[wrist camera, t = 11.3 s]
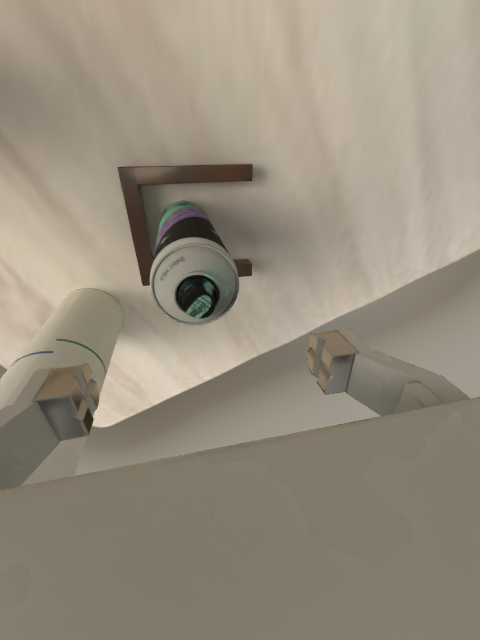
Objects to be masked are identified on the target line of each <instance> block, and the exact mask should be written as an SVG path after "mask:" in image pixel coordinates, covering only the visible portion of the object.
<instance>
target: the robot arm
mask: <svg viewBox="0 0 480 640" xmlns="http://www.w3.org/2000/svg"><path fill="white" fill-rule="evenodd" d="M309 344H310V345H311V348H310V349H309V350H308V352H307V365H308V368H309V370H310V372H311V374H312V375H314V376H316V377H318V380H317V383H318V385H319V386H320V388H321V389H322V391H323V392H324V394H325V395H327V394H334V393H341V392H346V393H347V394H349V395H350V396H352V397H353V398H355V399H356V400H358V401H359V402H361V403H363V404H364V405H365V406H367V407H368V408H370V409H371V410H373V411H374V412H376V413H377V414H379V415H380V417H375V418H370V419H365V420H360V421H354V422H350V423H344V424H339V425H334V426H329V427H324V428H319V429H314V430H308V431H303V432H298V433H293V434H288V435H282V436H277V437H272V438H266V439H261V440H257V441H251V442H246V443H241V444H236V445H230V446H225V447H220V448H215V449H210V450H205V451H200V452H195V453H189V454H184V455H179V456H175V457H169V458H164V459H159V460H153V461H148V462H143V463H138V464H133V465H128V466H122V467H117V468H112V469H107V470H102V471H97V472H92V473H87V474H81V475H76V476H71V477H66V478H61V479H55V480H50V481H45V482H40V483H35V484H30V485H25V486H21V485H22V484H23V483H24V482H25V481H26V480H27V478H28V477H29V476H30V475H31V474H32V473H33V472H34V471H35V470H36V469H37V468H38V466H39V465H40V464H41V463H42V462H43V461H44V460H45V459H46V458H47V457H48V456H49V455H50V453H51V452H52V451H53V450H54V449H55V448H56V447H57V446H58V445H59V444H60V441H64V440H69V439H74V438H79V437H84V436H88V435H89V432H90V429H91V426H92V423H93V420H94V419H93V416H92V413H93V412H94V411H95V410H96V409H97V407H98V403H99V389H98V385H97V383H96V381H94V380H92V379H91V375H92V370H91V368H90V365H89V364H87V363H83V364H74V365H65V366H56V367H49V368H41V369H38V370H36V371H35V372H34V373H33V375H32V376H31V378H30V379H29V381H28V382H27V384H26V385H25V387H24V388H23V390H22V391H21V393H20V394H19V396H18V397H17V399H16V400H15V402H14V403H13V405H8V406H6V407H4V408H3V409H1V410H0V640H480V397H478V398H473V399H470V398H469V397H468V396H467V395H465V394H464V393H463V392H462V391H460V390H459V389H458V388H457V387H455V386H454V385H453V384H452V383H451V382H449V381H448V380H447V379H446V378H445V377H443V376H441V375H438V374H435V373H433V372H430V371H428V370H425V369H423V368H420V367H417V366H415V365H412V364H410V363H407V362H404V361H402V360H399V359H397V358H394V357H392V356H389V355H386V354H383V353H381V352H379V351H372V350H371V349H370V348H369V347H368V346H367V345H365V344H364V342H362V341H361V340H360V339H359V338H358V337H357V336H356V335H355V334H354V333H353V332H352V331H351V330H350V329H348V328H344V329H338V330H334V331H326V332H319V333H313V334H311V335H310V337H309Z"/></svg>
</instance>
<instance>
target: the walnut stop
mask: <svg viewBox="0 0 480 640" xmlns="http://www.w3.org/2000/svg"><path fill="white" fill-rule="evenodd" d="M118 172H119V177H120V181H121V186H122V191H123V195H124V200H125V205H126V209H127V214H128V219H129V223H130V228H131V233H132V237H133V242H134V247H135V251H136V256H137V261H138V266H139V270H140V275H141V280H142V284H143V286H148V285H150V272H151V267H152V262H153V254H152V249H151V243H150V238H149V232H148V227H147V221H146V216H145V210H144V205H143V199H142V194H141V189H140V185H145V184H174V183H203V182H232V181H252V164H227V165H185V166H142V167H118ZM233 261H234V263H235V266H236V268H237V272H238V277H243V276H252V264H251V262H250V261H249V260H248V259H245V260H233Z"/></svg>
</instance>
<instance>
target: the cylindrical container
mask: <svg viewBox="0 0 480 640" xmlns="http://www.w3.org/2000/svg"><path fill="white" fill-rule="evenodd" d="M122 322H123V312H122V309H121V307H120V305H119V304H118V302H117V301H116V300H115V299H114V298H112V297H111V296H110V295H108V294H106V293H104V292H102V291H99V290H95V289H79V290H76V291H73V292H71V293H70V294H68V295H67V296H66V297H65V298H64V299H63V300H62V301H61V303H60V304H59V305H58V307H57V308H56V309H55V310H54V312H53V313H52V314H51V316H50V317H49V318H48V319H47V321H46V322H45V323H44V324H43V326H42V327H41V328H40V330H39V331H38V332H37V333H36V335H35V336H34V337H33V338H32V340H31V341H30V342H29V344H28V345H27V346H26V347H25V349H24V350H23V351H22V352H21V354H20V355H19V356H18V357H17V359H16V360H15V361H14V363H13V364H12V365H11V367H10V368H9V369H8V370H7V372H6V373H5V374H4V375H3V377H2V378H1V379H0V410H1V409H3V408H4V407H6V406H8V405H13V403H14V402H15V400H16V399H17V397H18V396H19V394H20V393H21V391H22V390H23V388H24V387H25V385H26V384H27V382H28V381H29V379H30V378H31V376H32V375H33V373H34V372H35V371H36V370H38V369H41V368H49V367H56V366H65V365H74V364H83V363H87V364H89V365H90V368H91V370H92V375H91V379H92V380H94V381H96V383H97V385H98V389H99V396H100V392H101V389H102V386H103V383H104V379H105V376H106V373H107V370H108V367H109V364H110V360H111V357H112V354H113V351H114V348H115V344H116V341H117V338H118V335H119V332H120V328H121V325H122ZM94 412H95V411H94ZM94 412H93V413H92V416H93V415H94ZM86 437H87V436H84V437H79V438H74V439H69V440H64V441H60V444H59V445H58V446H57V447H56V448H55V449H54V450H53V451H52V452H51V453H50V455H49V456H48V457H47V458H46V459H45V460H44V461H43V462H42V463H41V464H40V465H39V466H38V468H37V469H36V470H35V471H34V472H33V473H32V474H31V475H30V476H29V477H28V478H27V480H26V481H25V482H24V483H23V484H22V485H21V486H25V485H30V484H35V483H40V482H45V481H50V480H55V479H61V478H66V477H71V476H75V473H76V469H77V466H78V463H79V460H80V456H81V453H82V450H83V447H84V444H85V440H86Z"/></svg>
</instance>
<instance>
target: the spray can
mask: <svg viewBox="0 0 480 640" xmlns="http://www.w3.org/2000/svg"><path fill="white" fill-rule="evenodd" d="M150 287H151V293H152V296H153V299H154V301H155V303H156V305H157V307H158V308H159V309H160V310H161V311H162V312H163V314H165V315H166V316H167V317H169V318H170V319H172V320H174V321H176V322H178V323H182V324H186V325H203V324H208V323H211V322H213V321H216V320H217V319H219V318H221V317H222V316H223V315H225V314H226V313H227V312H228V311H229V310H230V308H231V307H232V306H233V304H234V302H235V300H236V298H237V295H238V291H239V278H238V272H237V268H236V266H235V263H234V261H233V259H232V258H231V256H230V254H229V253H228V251H227V249H226V248H225V246H224V244H223V243H222V241H221V239H220V238H219V236H218V234H217V233H216V231H215V229H214V228H213V226H212V224H211V223H210V221H209V219H208V218H207V216H206V214H205V213H204V211H203V210H202V209H201V208H200V207H198V206H197V205H195V204H193V203H191V202H186V201H181V202H176V203H174V204H172V205H170V206H169V207H168V208H167V209H166V210H165V211H164V213H163V215H162V217H161V221H160V226H159V231H158V236H157V241H156V246H155V251H154V256H153V262H152V267H151V272H150Z"/></svg>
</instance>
